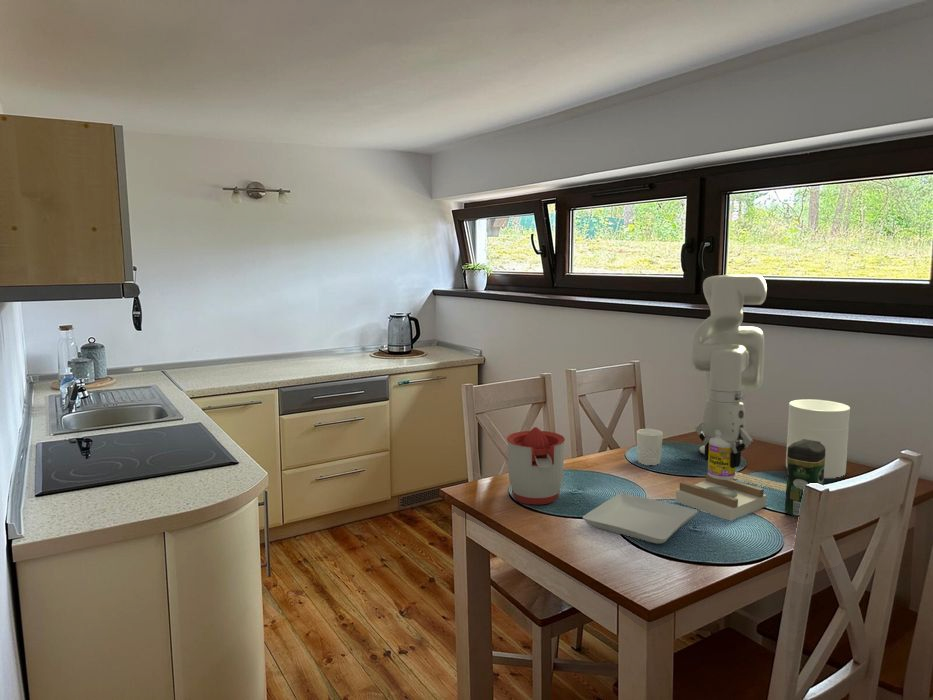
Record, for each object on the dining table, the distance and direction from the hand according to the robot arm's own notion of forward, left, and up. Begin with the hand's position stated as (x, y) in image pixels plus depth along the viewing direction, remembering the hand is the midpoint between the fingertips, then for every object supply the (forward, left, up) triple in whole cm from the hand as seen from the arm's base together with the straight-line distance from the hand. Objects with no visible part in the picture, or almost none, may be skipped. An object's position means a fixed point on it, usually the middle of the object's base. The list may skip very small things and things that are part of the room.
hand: (721, 462), depth 166 cm
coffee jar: (-11, +16, -11) cm, 23 cm away
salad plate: (+27, -4, -12) cm, 30 cm away
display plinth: (0, 0, -11) cm, 11 cm away
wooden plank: (-24, -3, -12) cm, 27 cm away
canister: (-47, +1, -11) cm, 48 cm away
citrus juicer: (+36, -32, -11) cm, 49 cm away
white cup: (-13, -34, -11) cm, 38 cm away
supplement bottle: (0, 0, -4) cm, 4 cm away
